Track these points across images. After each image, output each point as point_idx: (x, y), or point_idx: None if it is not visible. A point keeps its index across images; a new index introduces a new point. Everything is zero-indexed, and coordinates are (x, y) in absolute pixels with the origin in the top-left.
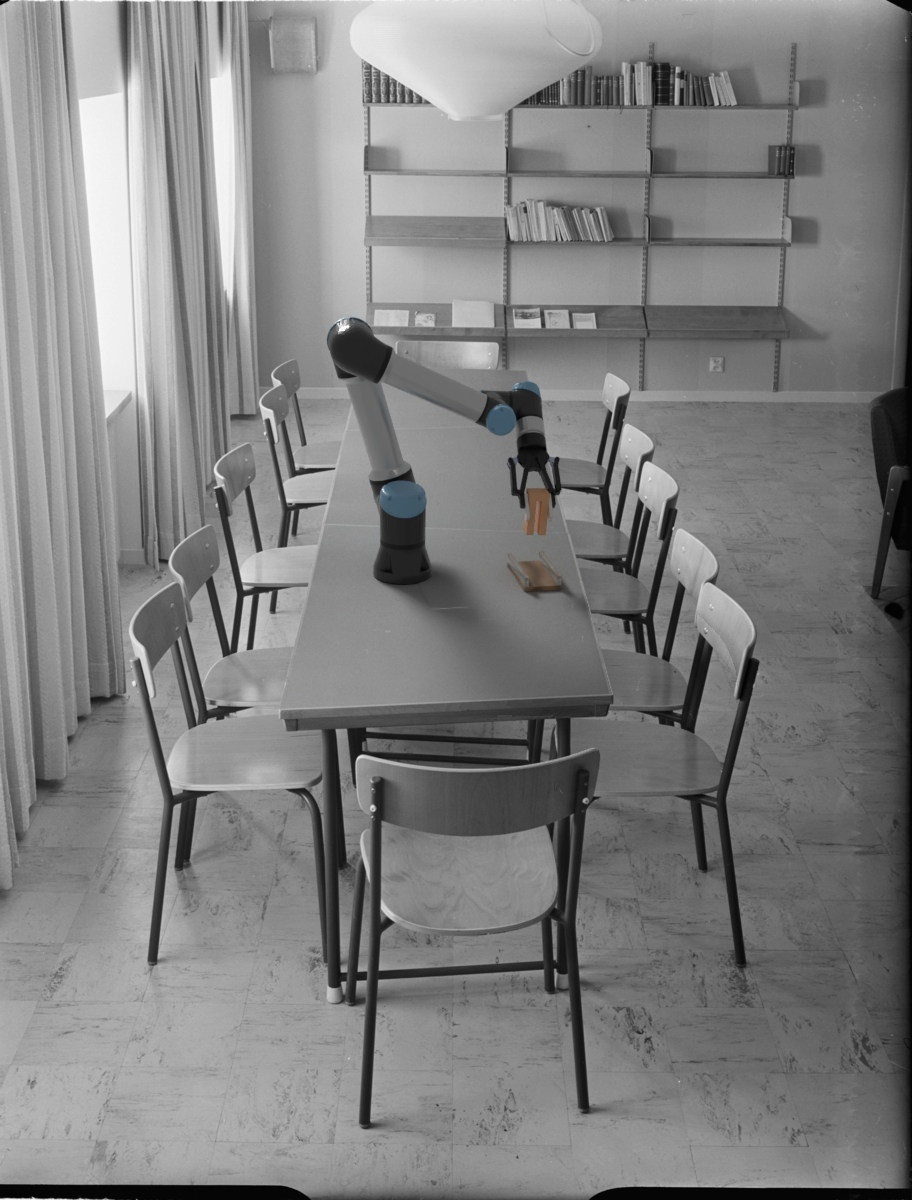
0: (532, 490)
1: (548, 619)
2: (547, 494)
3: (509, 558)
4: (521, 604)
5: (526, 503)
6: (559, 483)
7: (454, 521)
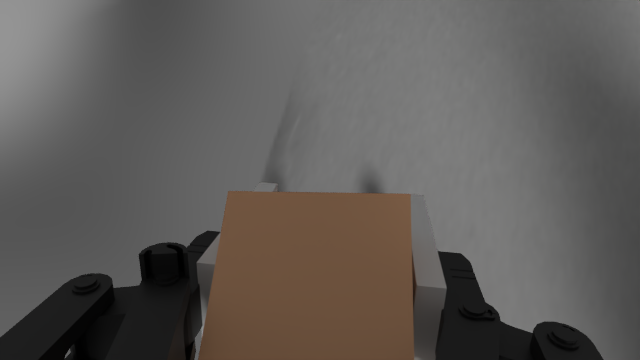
0: (366, 291)
1: (378, 66)
2: (251, 193)
3: None
4: (427, 153)
5: (427, 239)
6: (33, 322)
7: None
